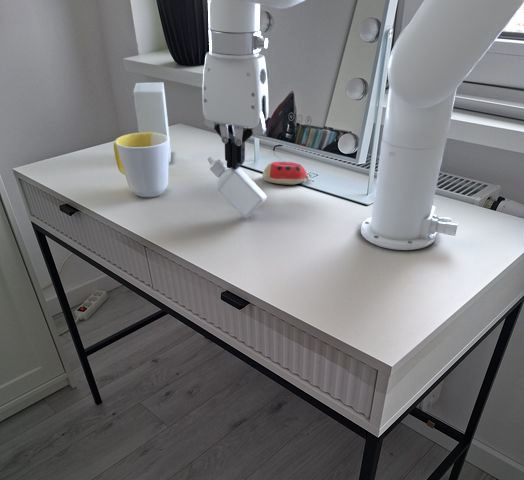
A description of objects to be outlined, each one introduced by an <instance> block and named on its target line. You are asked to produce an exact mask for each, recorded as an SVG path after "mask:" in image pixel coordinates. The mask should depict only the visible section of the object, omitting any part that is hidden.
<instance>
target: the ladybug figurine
mask: <svg viewBox="0 0 524 480" xmlns="http://www.w3.org/2000/svg"><path fill="white" fill-rule="evenodd" d="M309 176H310V175H309V174H308V173H307V171H306V169H305V168H304V166H302V164H300V163H296V162H292V161H273V162H270V163H268V164H267V165H266V166H265V167H264V169H263V172H262V179H263V180H264V181H266V182H268V183H271V184H276V185H284V186H285V185H289V186H290V185H291V186H293V185H300V184H303V183H306V181H307V180H308V179H309Z"/></svg>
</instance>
